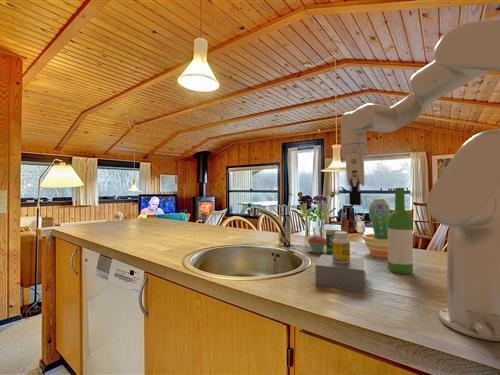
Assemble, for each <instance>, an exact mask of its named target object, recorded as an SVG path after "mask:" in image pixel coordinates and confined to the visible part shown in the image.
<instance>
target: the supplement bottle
mask: <svg viewBox="0 0 500 375" xmlns="http://www.w3.org/2000/svg"><path fill="white" fill-rule="evenodd" d="M348 234H349V233H348V231H347V232H341V231H338V232H335V237H336V238H334V239H333V261H334V262H335V263H340V264H347V263H349V262H350V257H351V242H350V239H349V238H348V236H349V235H348Z"/></svg>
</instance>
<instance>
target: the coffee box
mask: <svg viewBox="0 0 500 375" xmlns="http://www.w3.org/2000/svg"><path fill="white" fill-rule="evenodd" d="M338 231H341V232H347V233H348V231H347V229H345V230H344V229H342V230H339V229H326V230H325V239H326V245H325V247H326V248H325V249H326V255H333V239H334V238H336V237H335V232H338Z"/></svg>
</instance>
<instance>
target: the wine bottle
mask: <svg viewBox="0 0 500 375" xmlns="http://www.w3.org/2000/svg"><path fill="white" fill-rule="evenodd" d="M405 197H406V196H405V187H395V188H394V210H393V211H392V212H390V215H389V217H388V257H387V268H388V270H389V271H391V272H392V273H394V274H400V275H409V274H412V273H413V270H414V243H413V242H414V241H413V240H414V239H413V238H414V237H413V236H414V233H413V231H414V230H413V229H414V227H413V218H412V216H411V214H410V213H409V212H408V211H407V210H406V208H405V207H406V206H405V205H406V203H405Z"/></svg>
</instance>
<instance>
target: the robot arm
mask: <svg viewBox="0 0 500 375" xmlns="http://www.w3.org/2000/svg"><path fill="white" fill-rule="evenodd" d="M433 57H434V60H433V61H432V62H430V63H428V64H427V65H425V66H424V67H422V68H421V69H419V70H417V71H416V72H415V73H413V74H412V76H411V77H410V79H409V86H410V87H409V88H410V90H411V91H410V93H409V94H408V95H407V96H406V97H404V98H403V99H402V100H401V101H399V102H397V103H395V104H394V105H392V106H386V105H385V106H384V105H381V104H375V103H366V104H364V105H362V106H359V107H358V108H356V109H355V110H353V111H348V112H345V113H344V114H342V116H341V117H340V132H341V134H340V135H341V157H342V158H345V173H346V174H345V175H346V181H347V186H348V187H349V192H348V193H349V194H348V195H349V197H348V201H349V205H350V206H361V205H362V198H361V197H362V195H361V194H362V193H361V191H360V190H361V189H360V188H361V187H363V186H364V185H365V160H364V157H365V156H367V155H368V148H367V131H370V132H377V133H387V134H388V133H391V132H395V131H397V130H398V129H401V128H403V127H405V126H406V125H408V124H411V123H412V122H414V121H416V119H418V118H419V117H420V116H421V115H423V113H424V112H425V111H426V110H427V109H428V107H429V106H430V105H431V104H432V103H434V102H435V101H437V100H440V99H441V98H443V97H445V96H446V95H448V94H450V93H451V92H453V91H455V90H457V89H459V88H460V87H463V86H464V85H466V84H468V83H470V82H472V81H474V80H475V79H477V78H479V77H481V76H483V75H485V74H486V73H488V72H500V19H491V20H490V19H489V20H480V21H477V20H476V21H471V22H466V23H463V24H459V25H457V26H455V27H453V28H451V29H449V31H447V32H446V33H445V34H443V36H442V37H441V38H440V39H439V41H438V42H437V44H436V46H435V47H434V51H433ZM360 185H361V187H360ZM426 207H427V211H428V213H429V215H430V217H431V218H432V219H433V220H435V222H437V223H438V224H440V225H442V226H445V227H449V228H448V233H447V241H446V244H447V245H446V247H447V248H446V250H447V251H446V278H447V279H446V281H447V282H446V294H447V295H446V296H447V298H446V299H447V300H446V302H447V303H446V306H447V307H445V308H442V309H440V310H439V311H438V318H439V320H440V321H441V322H442V323H443V324H444V325H446V326H447V327H448V328H450V329H452V330H454V331H456V332H459V333H460V334H464V335H466V336H469V337H473V338H475V339H480V340H485V341H492V342H500V128H498V129H489V130H484V131H482V132H479V133H477V134H475V135H472V137H470V138H468V139H467V140H466V141H465V142H463V144H461V146H460V147H459V148H458V149H457V151H456V152H455V154H454V155H453V157H452V158H451V159H450V161H449V162H448V163H447V166H446V167H445V168H444V169H443V171H442V172H441V174H440V175H439V177H438V178H437V179H436V181H435V183H434V184H433V186H432V188H431V190H430V191H429V192H428V196H427V198H426Z"/></svg>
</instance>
